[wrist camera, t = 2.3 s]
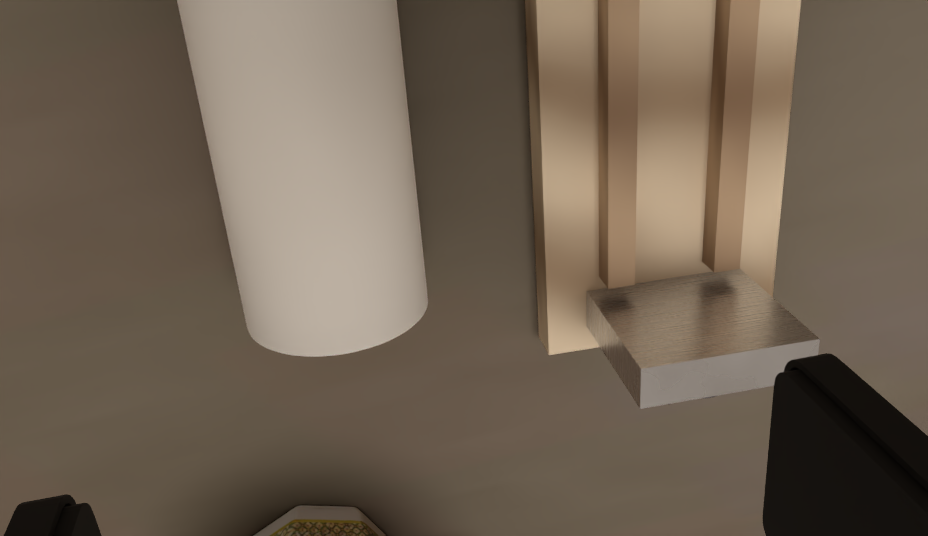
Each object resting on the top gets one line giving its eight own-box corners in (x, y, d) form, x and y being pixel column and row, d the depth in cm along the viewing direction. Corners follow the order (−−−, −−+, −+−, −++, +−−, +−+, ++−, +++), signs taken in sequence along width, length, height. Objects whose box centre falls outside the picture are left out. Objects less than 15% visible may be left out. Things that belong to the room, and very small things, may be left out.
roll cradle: (514, -255, 25) (589, -300, 18) (800, -274, 26) (962, -321, 19) (538, 335, 33) (595, 442, 27) (751, 302, 34) (853, 396, 28)
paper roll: (176, -78, 25) (144, -65, 20) (376, -95, 26) (398, -88, 20) (251, 284, 30) (242, 371, 25) (415, 260, 31) (441, 340, 26)
